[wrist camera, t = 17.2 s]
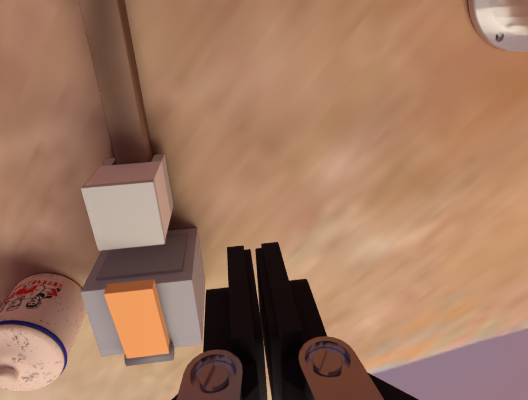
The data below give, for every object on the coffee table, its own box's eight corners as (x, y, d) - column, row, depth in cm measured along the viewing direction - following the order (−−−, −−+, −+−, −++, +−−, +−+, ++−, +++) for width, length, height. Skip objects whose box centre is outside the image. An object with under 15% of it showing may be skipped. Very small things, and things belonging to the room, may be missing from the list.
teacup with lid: (68, 260, 44) (21, 334, 33) (104, 317, 48) (72, 399, 37) (-29, 291, 44) (-105, 373, 34) (15, 344, 48) (-41, 433, 38)
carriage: (164, 153, 39) (153, 182, 32) (174, 206, 41) (164, 244, 34) (106, 158, 38) (80, 188, 31) (119, 211, 41) (98, 250, 34)
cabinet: (196, 225, 44) (191, 277, 35) (205, 283, 47) (202, 344, 38) (108, 234, 43) (79, 289, 34) (123, 292, 47) (101, 356, 38)
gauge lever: (156, 277, 33) (154, 290, 32) (174, 349, 38) (173, 363, 37) (105, 282, 33) (100, 296, 32) (130, 355, 38) (127, 369, 37)
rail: (119, -96, 31) (104, -114, 27) (174, 226, 44) (170, 246, 40) (56, -94, 30) (31, -112, 26) (130, 230, 43) (121, 251, 39)
